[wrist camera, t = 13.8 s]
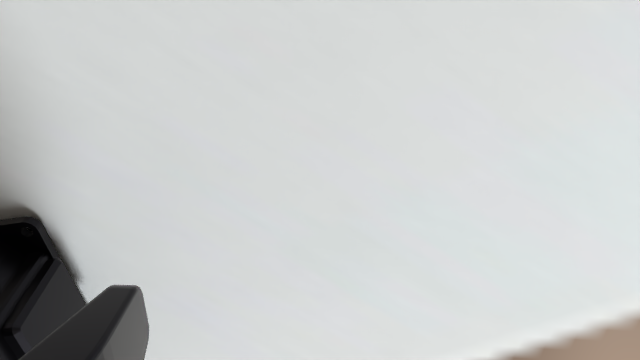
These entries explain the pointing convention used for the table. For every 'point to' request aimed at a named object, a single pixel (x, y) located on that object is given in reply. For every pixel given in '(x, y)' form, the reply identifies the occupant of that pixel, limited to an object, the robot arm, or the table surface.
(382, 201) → the table surface
